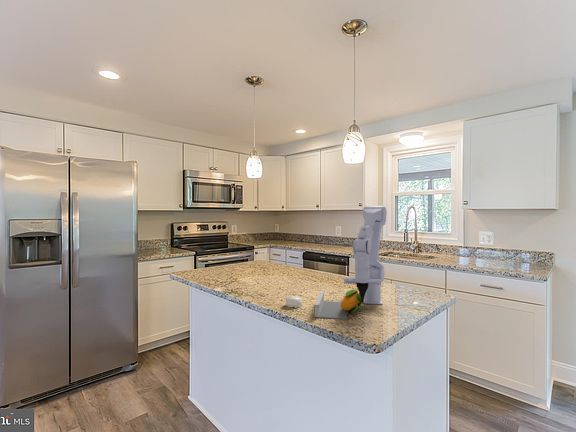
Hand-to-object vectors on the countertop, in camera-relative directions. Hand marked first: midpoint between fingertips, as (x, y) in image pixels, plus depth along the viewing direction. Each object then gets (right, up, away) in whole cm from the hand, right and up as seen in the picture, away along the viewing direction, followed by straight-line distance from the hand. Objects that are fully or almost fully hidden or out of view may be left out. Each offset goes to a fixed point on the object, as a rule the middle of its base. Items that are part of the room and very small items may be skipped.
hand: (362, 301), depth 123 cm
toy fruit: (-5, -4, +1) cm, 6 cm away
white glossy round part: (-28, -4, +9) cm, 30 cm away
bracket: (-12, -4, +3) cm, 13 cm away
